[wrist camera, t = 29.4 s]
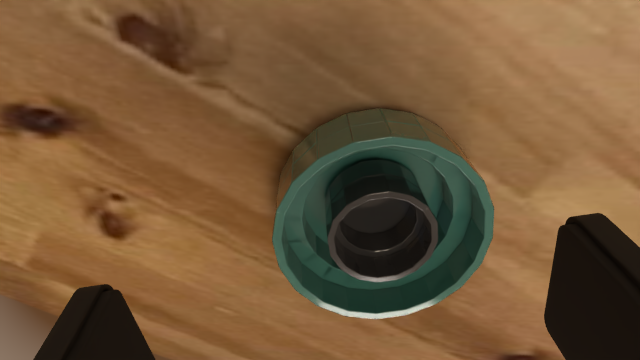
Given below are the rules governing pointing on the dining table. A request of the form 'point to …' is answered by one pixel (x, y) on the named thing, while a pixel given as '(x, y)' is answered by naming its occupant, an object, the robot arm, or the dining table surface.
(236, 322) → the dining table surface
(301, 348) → the dining table surface
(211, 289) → the dining table surface
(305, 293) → the green bowl
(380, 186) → the charcoal bowl
